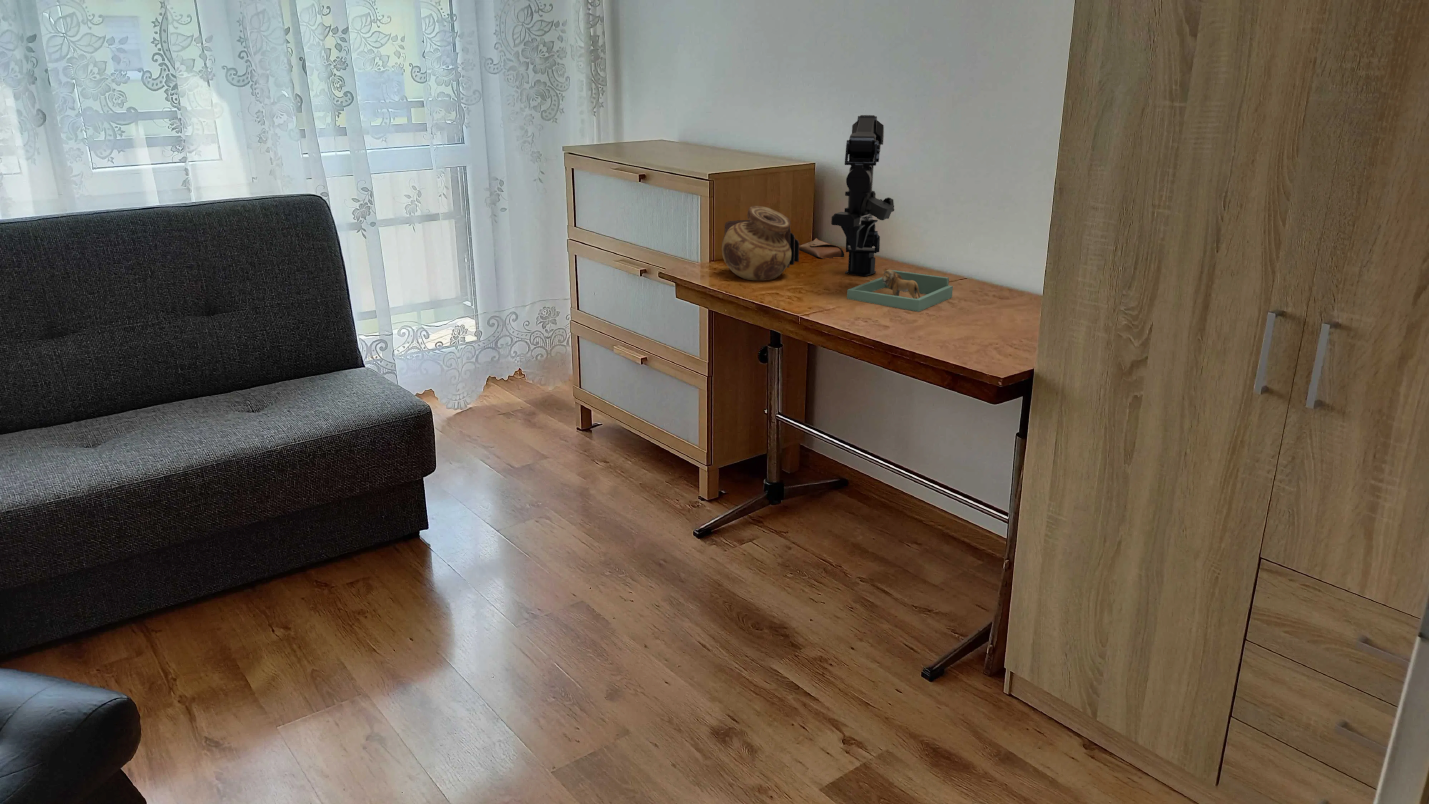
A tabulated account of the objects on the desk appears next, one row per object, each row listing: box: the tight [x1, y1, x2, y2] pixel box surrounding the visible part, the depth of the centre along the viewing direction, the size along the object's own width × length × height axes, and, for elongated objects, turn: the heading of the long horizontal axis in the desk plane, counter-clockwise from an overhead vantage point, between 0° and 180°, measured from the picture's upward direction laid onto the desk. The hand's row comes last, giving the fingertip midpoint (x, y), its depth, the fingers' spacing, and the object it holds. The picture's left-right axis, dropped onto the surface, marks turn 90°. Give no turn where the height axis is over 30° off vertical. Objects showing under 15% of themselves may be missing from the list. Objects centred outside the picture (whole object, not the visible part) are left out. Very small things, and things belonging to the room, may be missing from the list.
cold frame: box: [846, 269, 954, 313], centre depth 253 cm, size 19×19×5 cm
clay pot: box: [721, 205, 792, 281], centre depth 272 cm, size 19×19×20 cm
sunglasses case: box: [799, 237, 845, 260], centre depth 307 cm, size 18×7×7 cm
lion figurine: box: [881, 269, 921, 299], centre depth 252 cm, size 12×4×7 cm, turn 53°
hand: (857, 249), depth 258 cm, fingers open, 3 cm apart
